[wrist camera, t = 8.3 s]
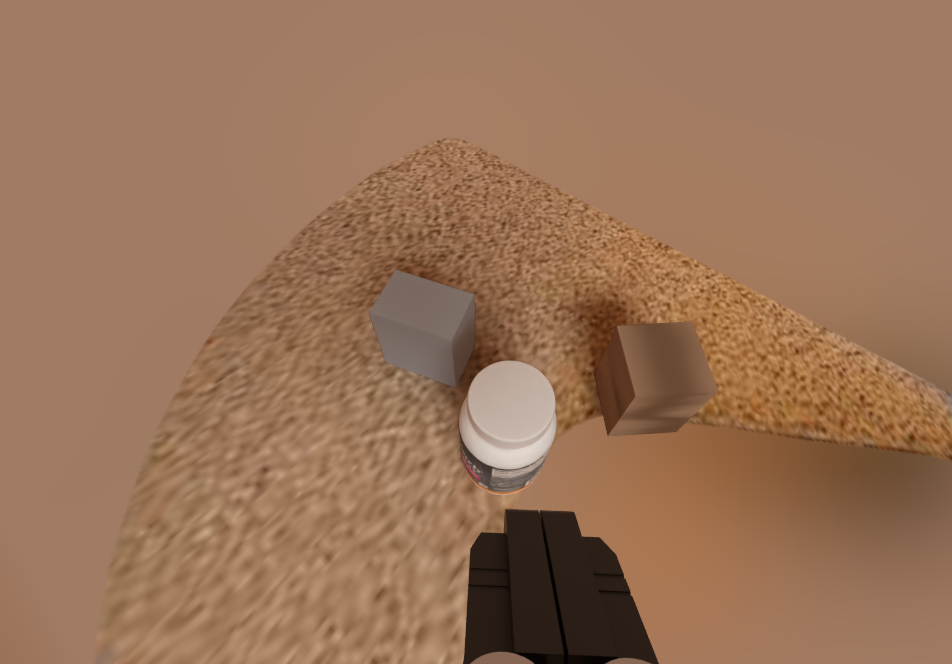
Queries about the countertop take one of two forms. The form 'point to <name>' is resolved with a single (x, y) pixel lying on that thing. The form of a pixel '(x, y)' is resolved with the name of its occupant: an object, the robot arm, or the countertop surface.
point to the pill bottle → (507, 426)
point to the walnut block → (653, 378)
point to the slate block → (425, 327)
